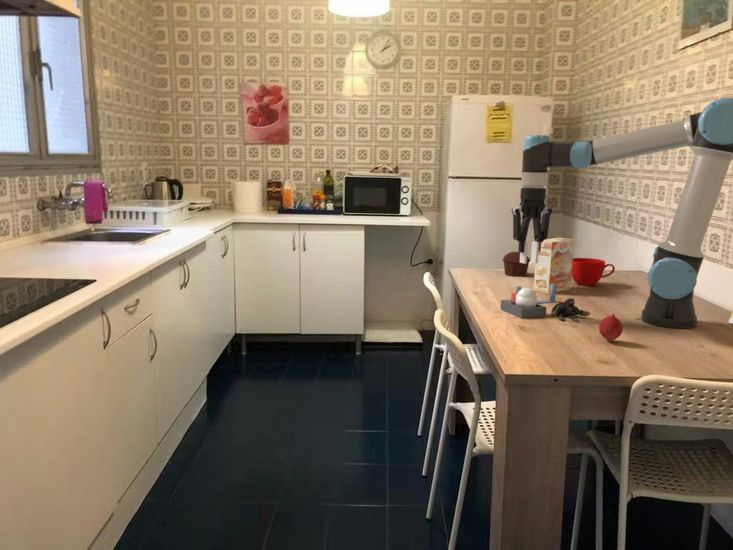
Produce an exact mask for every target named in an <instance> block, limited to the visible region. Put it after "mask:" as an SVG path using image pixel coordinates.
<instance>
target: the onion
mask: <svg viewBox="0 0 733 550" xmlns="http://www.w3.org/2000/svg"><path fill="white" fill-rule="evenodd" d="M623 328H624V327H623V324H622V322H621V321H620V320H619V319H618V317H616V315H615V312H612V313H610V314H609V315H607V316H606V317H604V318H603V319H602V320H601V321H600V323H599V327H598V330H599V334H600V335H601V336H602V337H603V338H604V340H606V341H607V342H609V343H612V342H614V341H615V340H616V339H618V338H619V337H621V335H622V334H623Z"/></svg>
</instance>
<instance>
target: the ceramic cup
mask: <svg viewBox="0 0 733 550" xmlns="http://www.w3.org/2000/svg"><path fill="white" fill-rule="evenodd" d="M607 267H612V270H611V271H610V272H609V273H607V274H604V271H605V269H606V268H607ZM615 269H616V268H615V265H614V264H612V263H606V261H605V260H603V259H599V258H590V257H573V260H572V271H571V279H572V280H573V281H574V282H575V284H576V285H577V286H580V287H589V288H591V287H594V286H595V285H596V284H598V283H599V282H600V280H601V279H603V278H607V277H609V276H611V275H612V274H613V273H614V272H615ZM603 274H604V275H603Z"/></svg>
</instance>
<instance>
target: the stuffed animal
mask: <svg viewBox="0 0 733 550" xmlns="http://www.w3.org/2000/svg"><path fill="white" fill-rule="evenodd" d="M575 302H576V301H575V299H574V298H572V297H568V298H567V299H566V300H564V302H559V303H556V304H555V305H554V306H553V307H552V309H551V313H550V314H549V317H552V318H557V317H558V321H562V322H564V321H565V320H566V319H565V318H568V319H571V320H572V322H575V323H579V322H580V320H579V319H578V318H580V317H589V316H590V315H591V312H590V311H588V310H583V309H579V307H578V306H576V305H575V304H576V303H575Z"/></svg>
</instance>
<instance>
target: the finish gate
mask: <svg viewBox="0 0 733 550" xmlns="http://www.w3.org/2000/svg"><path fill="white" fill-rule="evenodd" d="M521 289H522V286H518V285H516V286H515V291H514V293H518V292H519V291H520V290H521ZM556 293H557V292H556V285H555V284H551V289H550V294H549V299H547V300H544V299H543V300H537V304H552V303H555V302H556Z"/></svg>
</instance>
